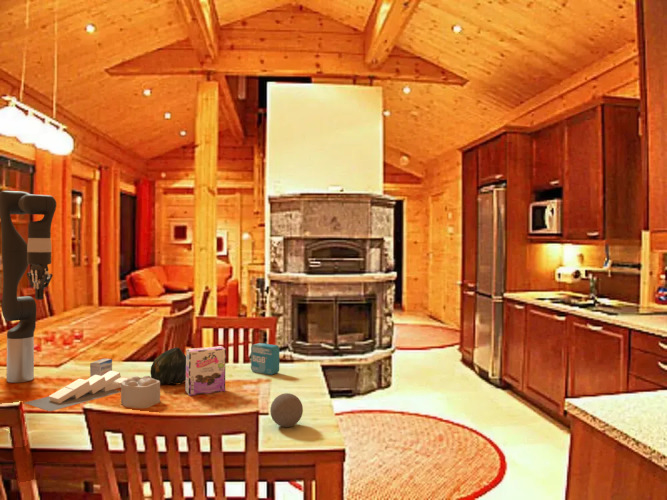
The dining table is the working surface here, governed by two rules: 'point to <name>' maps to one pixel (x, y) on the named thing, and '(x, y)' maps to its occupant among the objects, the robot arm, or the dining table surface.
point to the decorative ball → (286, 410)
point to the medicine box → (100, 367)
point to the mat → (69, 400)
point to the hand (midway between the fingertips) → (39, 299)
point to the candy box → (205, 370)
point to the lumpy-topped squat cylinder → (140, 392)
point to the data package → (265, 358)
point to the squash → (169, 367)
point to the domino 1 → (69, 390)
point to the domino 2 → (93, 382)
